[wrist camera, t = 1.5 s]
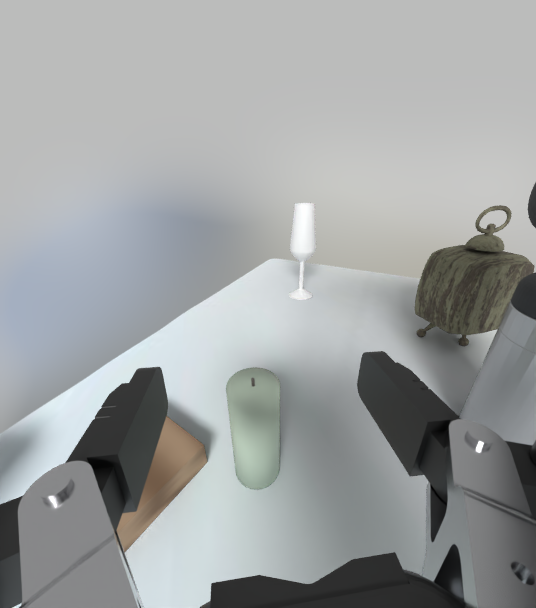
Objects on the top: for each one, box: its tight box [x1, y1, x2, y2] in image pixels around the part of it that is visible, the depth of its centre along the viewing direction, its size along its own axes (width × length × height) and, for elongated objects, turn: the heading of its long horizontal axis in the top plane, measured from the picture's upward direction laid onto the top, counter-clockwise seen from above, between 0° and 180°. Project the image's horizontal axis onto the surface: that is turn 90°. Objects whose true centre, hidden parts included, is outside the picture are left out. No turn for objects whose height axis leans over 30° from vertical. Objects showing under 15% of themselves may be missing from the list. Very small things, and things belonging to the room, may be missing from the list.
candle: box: [226, 368, 280, 490], centre depth 26 cm, size 5×5×13 cm
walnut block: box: [117, 416, 207, 552], centre depth 28 cm, size 10×10×3 cm
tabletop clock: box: [415, 206, 534, 346], centre depth 45 cm, size 14×9×25 cm, turn 106°
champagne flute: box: [289, 203, 316, 300], centre depth 66 cm, size 7×7×24 cm
